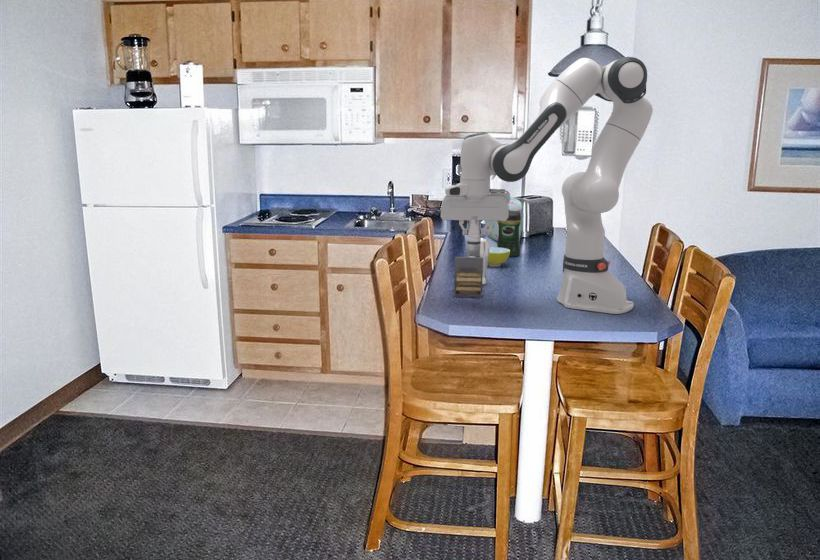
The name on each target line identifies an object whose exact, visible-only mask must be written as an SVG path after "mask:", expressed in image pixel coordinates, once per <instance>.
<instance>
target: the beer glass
mask: <svg viewBox="0 0 820 560" xmlns="http://www.w3.org/2000/svg"><path fill="white" fill-rule="evenodd" d="M480 241H481V244H480V256H468V257H483V277H482V286H485V285H487V284H488V280H487V270H488V266H489V263H488V260H489V251H490V248H489V247H490V239H488V238H482V237H481V240H480Z"/></svg>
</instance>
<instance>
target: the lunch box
mask: <svg viewBox="0 0 820 560" xmlns="http://www.w3.org/2000/svg"><path fill="white" fill-rule="evenodd" d="M508 211H519V212H520V215H521V223H520V226H519V242H520V241H521V235H522V229H523V228H522V227H523V226H522V225H523V204H522V202H521V200H519V199H518V198H516V197H513V196H510V202H509V203H508ZM498 233H499V225H498V222H497V221H493V220H490V221H489V226H488V227H487V236H488V237H489V238H491V239H492V240H493V241H496V242H498Z"/></svg>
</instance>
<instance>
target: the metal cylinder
mask: <svg viewBox="0 0 820 560" xmlns="http://www.w3.org/2000/svg"><path fill="white" fill-rule="evenodd" d="M466 225H467V228H466V229H467V235H466V236H467V237H466V256H467V257H469V256H480V244H481V241H480V240H481V238H482V235H481V229H482V220H478V219H477V217H472V218H471V220H467V224H466Z"/></svg>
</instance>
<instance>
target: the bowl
mask: <svg viewBox="0 0 820 560" xmlns="http://www.w3.org/2000/svg"><path fill="white" fill-rule="evenodd" d="M489 248H490V251H489V260H488V266H489V267H493V268H499V267H501V266H502V264H503V263H505V262H506V261H508V259H509V254H510V250H509V249H506V248H498V247H497V246H496V247H492V246H491V247H490V246H489Z"/></svg>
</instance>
